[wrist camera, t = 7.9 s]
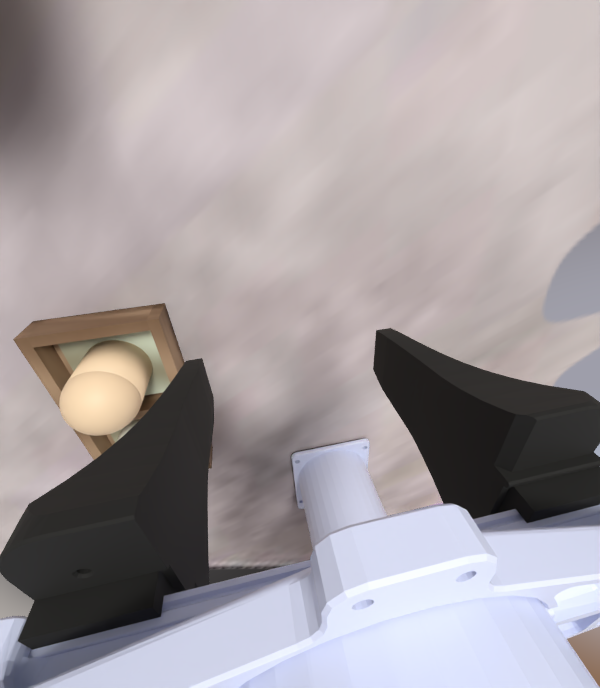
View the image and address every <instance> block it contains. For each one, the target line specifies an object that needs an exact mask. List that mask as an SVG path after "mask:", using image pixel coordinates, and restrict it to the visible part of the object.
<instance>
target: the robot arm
mask: <svg viewBox="0 0 600 688" xmlns="http://www.w3.org/2000/svg"><path fill="white" fill-rule="evenodd" d="M373 370H374V372H375V374H376V376H377V379H378V381H379V383H380V385H381V387H382V389H383V391H384V392H385V394H386V396H387V397H388V399H389V400H390V402H391V403H392V405H393V407H394V408H395V410H396V411H397V413H398V414H399V416H400V417H401V419H402V420H403V422H404V424H405V425H406V427H407V428H408V430H409V432H410V433H411V435H412V437H413V439H414V440H415V442H416V444H417V446H418V448H419V450H420V452H421V454H422V456H423V459H424V461H425V463H426V465H427V467H428V469H429V471H430V473H431V476H432V478H433V480H434V482H435V485H436V487H437V489H438V491H439V494H440V496H441V498H442V501H443V503H444V504H437V505H431V506H427V507H423V508H419V509H415V510H410V511H406V512H402V513H398V514H394V515H389V516H387V515H386V512H385V510H384V508H383V505H382V503H381V500H380V498H379V496H378V493H377V491H376V489H375V486H374V484H373V482H372V479H371V477H370V475H369V472H368V470H367V468H368V456H369V444H370V443H369V440H368V439H360V440H355V441H350V442H345V443H340V444H335V445H330V446H325V447H320V448H315V449H311V450H306V451H301V452H296V453H294V454H292V456H291V458H292V466H293V474H294V482H295V490H296V498H297V505H298V508H299V509H305V514H306V519H307V524H308V528H309V533H310V538H311V543H312V548H313V552H312V554H311V557H310V560H307V561H303V562H299V563H295V564H291V565H287V566H282V567H278V568H274V569H270V570H266V571H262V572H258V573H254V574H250V575H246V576H242V577H238V578H234V579H230V580H226V581H222V582H218V583H214V584H210V585H209V564H208V511H207V497H208V468H209V459H210V451H211V442H212V433H213V424H214V400H213V394H212V391H211V387H210V384H209V380H208V377H207V374H206V370H205V367H204V363H203V360H202V358H201V359H195V360H189V361H186V362H185V363H184V365H183V366H182V367H181V369H180V370H179V372H178V373H177V374H176V376H175V377H174V379H173V380H172V381H171V383H170V384H169V385H168V387H167V388H166V389H165V391H164V392H163V393H162V395H161V396H160V397H159V399H158V400H157V401H156V402H155V403H154V404H153V406H152V407H151V408H150V409H149V410H148V412H147V413H146V414H145V415H144V416H143V417H142V418H141V419H140V420H139V421H138V422H137V423H136V424H135V425H134V426H133V427H132V428H131V429H130V430H129V431H128V432H127V433H126V434H125V435H124V436H123V437H121V438H120V439H119V440H118V441H117V442H116V443H114V444H113V445H112V446H111V447H110V448H109V449H107V450H106V451H105V452H104V453H103V454H101V455H100V456H99V457H98V458H96V459H95V460H94V461H92V462H91V463H90V464H88V465H87V466H86V467H84V468H83V469H82V470H80V471H79V472H77V473H76V474H75V475H73V476H72V477H70V478H69V479H67V480H66V481H64V482H63V483H61V484H60V485H58V486H57V487H55V488H54V489H52V490H50V491H49V492H47V493H46V494H44V495H43V496H41V497H40V498H38V499H36V500H35V501H33V502H31V503H30V504H29V505H28V507H27V508H26V510H25V512H24V514H23V515H22V517H21V519H20V521H19V522H18V524H17V526H16V528H15V530H14V531H13V533H12V535H11V537H10V539H9V541H8V542H7V544H6V546H5V548H4V550H3V551H2V553H1V555H0V572H1V574H2V575H3V576H4V577H5V578H6V579H7V580H8V581H9V582H10V583H12V584H13V585H15V586H16V587H17V588H18V589H20V590H21V591H23V592H24V593H25V594H27V595H28V596H29V597H31V598H32V599H33V600H35V601H34V604H33V606H32V609H31V611H30V613H29V616H28V617H25V616H12V617H6V618H2V619H0V688H599V686H598V685H597V683H596V682H595V680H594V679H593V677H592V676H591V674H590V673H589V671H588V670H587V668H586V667H585V666H584V664H583V663H582V661H581V660H580V658H579V657H578V655H577V654H576V652H575V651H574V649H573V648H572V647H571V645H570V644H569V642H568V641H567V638H570V637H572V636H575V635H578V634H580V633H583V632H586V631H588V630H591V629H593V628H596V627H599V626H600V467H599V466H600V457H598V456H597V455H596V454H595V453H594V450H595V449H596V448H597V446H598V445H599V443H600V402H599V401H597V400H596V399H594V398H593V397H592V396H590V395H589V394H588V393H586V392H584V391H578V390H572V389H566V388H559V387H553V386H547V385H541V384H537V383H532V382H527V381H522V380H518V379H514V378H510V377H506V376H503V375H499V374H496V373H492V372H489V371H486V370H482V369H480V368H477V367H474V366H471V365H468V364H466V363H463V362H460V361H458V360H455V359H453V358H451V357H448V356H446V355H444V354H442V353H439V352H437V351H435V350H433V349H431V348H429V347H427V346H425V345H423V344H421V343H419V342H417V341H415V340H413V339H411V338H409V337H407V336H406V335H404V334H402V333H400V332H398V331H395V330H393V329H391V328H389V329H382V330H376V341H375V354H374V367H373Z"/></svg>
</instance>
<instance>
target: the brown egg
mask: <svg viewBox="0 0 600 688" xmlns="http://www.w3.org/2000/svg"><path fill="white" fill-rule="evenodd" d="M152 369H153V367H152V362H151V360H150V358H149V356H148V355H147V354H146V353H145V352H144V351H143V350H142V349H141V348H139V347H138V346H136V345H134V344H131V343H129V342H125V341H120V340H107V341H103V342H100V343H97V344H95V345H94V346H92V347H91V348H90V349H89V350H88V351H87V353H86V354H85V356H84V357H83V359H82V360H81V362H80V363H79V365H78V366H77V368H76V369H75V371H74V372H73V374H72V375H71V377H70V378H69V380H68V381H67V383H66V384H65V386H64V388H63V390H62V392H61V395H60V401H59V406H60V412H61V414H62V417H63V418H64V420H65V421H66V423H67V424H68V425H69V426H70V427H72V428H73V429H74V430H76V431H78V432H80V433H83V434H87V435H94V436H101V435H107V434H111V433H114V432H117V431H119V430H121V429H123V428H124V427H126V426H127V425H128V424H129V423H130V422H131V421H132V420H133V419H134V418H135V417H136V415H137V414H138V412H139V410H140V407H141V405H142V402H143V398H144V395H145V392H146V389H147V386H148V383H149V380H150V377H151V374H152Z"/></svg>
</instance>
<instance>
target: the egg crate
mask: <svg viewBox="0 0 600 688" xmlns="http://www.w3.org/2000/svg"><path fill="white" fill-rule="evenodd" d="M13 340H14V341H15V343H16V344H17V346H18V347H19V349H20V350H21V352H22V353H23V355H24V356H25V358H26V359H27V361H28V362H29V364H30V365H31V367H32V368H33V370H34V371H35V373H36V374H37V376H38V377H39V379H40V380H41V382H42V383H43V385H44V386H45V388H46V389H47V391H48V392H49V394H50V395H51V397H52V398H53V400H54V401H55V403H56V404H57V405H58V407H59V408H60V406H59V401H60V395H61V392H62V390H63V388H64V386H65V384H66V383H67V381H68V380H69V378H70V377H71V375H72V374H73V372H74V371H75V369H76V368H77V366H78V365H79V363H80V362H81V360H82V359H83V357H84V356H85V354H86V353H87V351H88V350H89V349H90V348H91V347H92V346H94V345H95V344H97V343H100V342H103V341H107V340H120V341H125V342H129V343H131V344H134V345H136V346H138V347H139V348H141V349H142V350H143V351H144V352H145V353H146V354H147V355H148V356H149V358H150V360H151V362H152V367H153V369H152V374H151V377H150V380H149V383H148V386H147V389H146V392H145V395H144V398H143V402H142V405H141V407H140V410H139V412H138V414H137V415H136V417H135V418H134V419H133V420H136V419H141V418H142V417H143V416H144V415H145V414H146V413H147V412H148V410H149V409H150V408H151V407H152V406H153V404H154V403H155V402H156V401H157V400H158V399H159V397H160V396H161V395H162V393H163V392H164V391H165V389H166V388H167V387H168V385H169V384H170V383H171V381H172V380H173V379H174V377H175V376H176V374H177V373H178V372H179V370H180V369H181V367H182V366H183V365H184V360H183V357H182V354H181V351H180V348H179V345H178V342H177V339H176V336H175V333H174V330H173V327H172V324H171V321H170V318H169V315H168V312H167V309H166V306H165V303H163V304H156V305H149V306H142V307H134V308H127V309H120V310H112V311H105V312H98V313H91V314H83V315H76V316H69V317H61V318H54V319H47V320H40V321H33V322H32V323H31V324H30V325H29V326H27V327H26V328H25V329H24V330H23V331H22V332H21V333H20V334H19V335H18V336H17V337H15V338H14V339H13ZM74 431H75V432H76V434H77V435H78V437H79V438H80V440H81V441H82V443H83V444H84V446H85V447H86V449H87V450H88V452H89V453H90V455H91V456H92V458H93V459H94V460H95V459H96V458H98V457H99V456H100V455H101V454H103V453H104V452H105V451H106V450H107V449H109V448H110V447H111V446H112V445H113V444H114V443H116V442H117V440H118V437H119V435H120V432H121V430H119V431H117V432H114V433H111V434H107V435H101V436H94V435H87V434H83V433H80V432H78V431H76V430H74ZM212 448H213V447H212V444H211V451H210V459H209V468H211V467H212ZM209 468H208V469H209Z"/></svg>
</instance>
